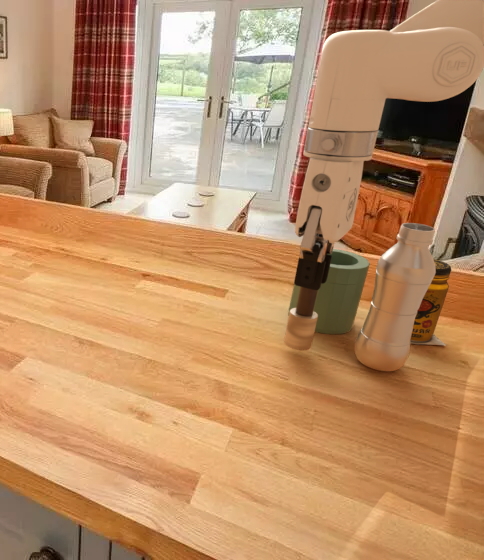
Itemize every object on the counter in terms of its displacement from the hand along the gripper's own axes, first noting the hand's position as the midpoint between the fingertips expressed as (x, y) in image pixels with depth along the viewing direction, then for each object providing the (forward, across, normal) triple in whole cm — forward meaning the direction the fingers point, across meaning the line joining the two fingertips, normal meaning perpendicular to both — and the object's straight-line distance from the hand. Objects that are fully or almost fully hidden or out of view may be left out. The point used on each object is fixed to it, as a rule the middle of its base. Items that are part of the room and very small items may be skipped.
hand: (310, 282), depth 67 cm
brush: (+10, 0, 0) cm, 10 cm away
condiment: (+12, +19, -11) cm, 25 cm away
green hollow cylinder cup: (+11, +14, 0) cm, 18 cm away
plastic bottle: (+12, +5, -10) cm, 16 cm away
